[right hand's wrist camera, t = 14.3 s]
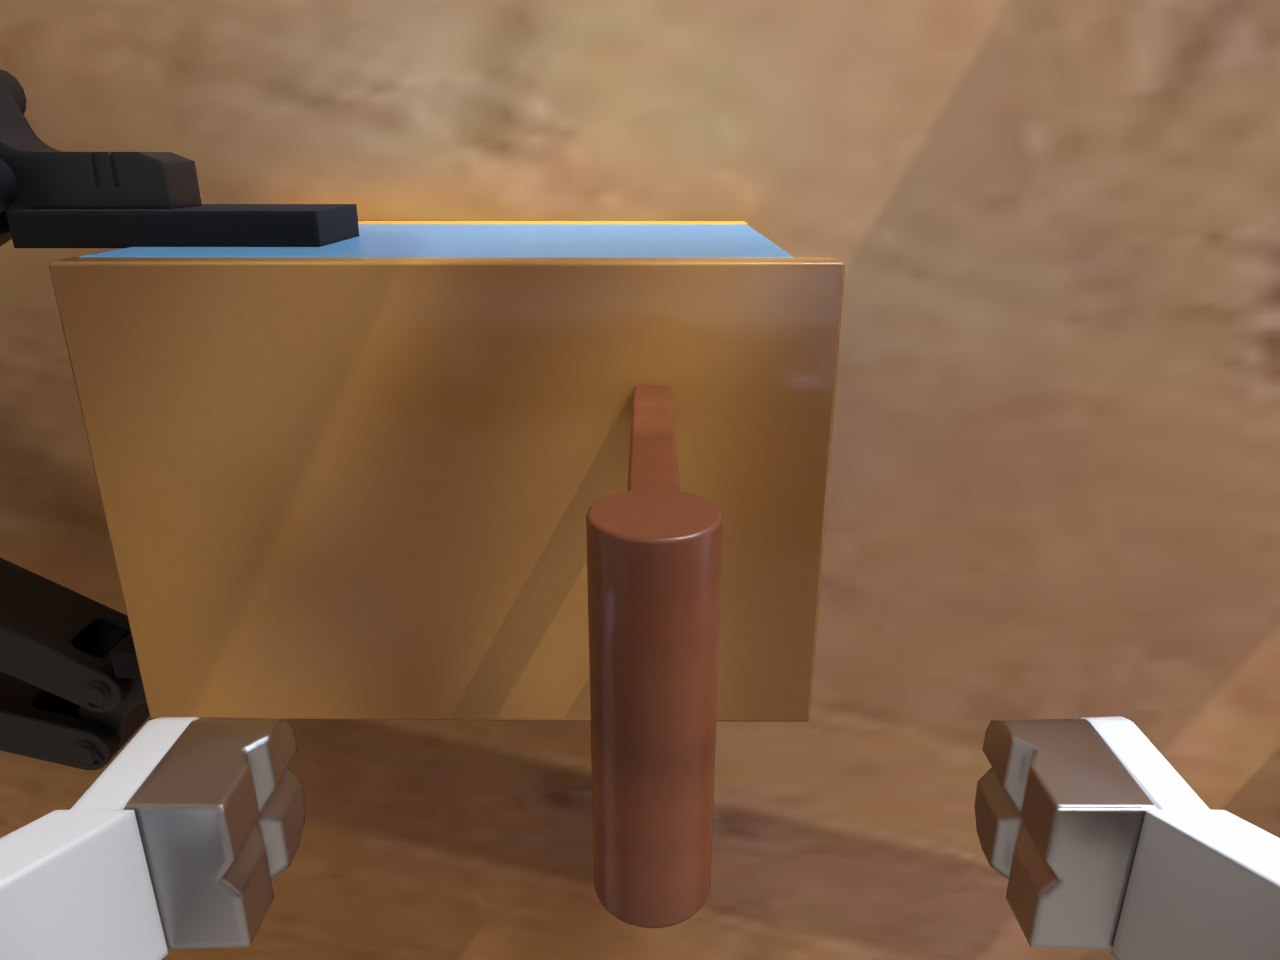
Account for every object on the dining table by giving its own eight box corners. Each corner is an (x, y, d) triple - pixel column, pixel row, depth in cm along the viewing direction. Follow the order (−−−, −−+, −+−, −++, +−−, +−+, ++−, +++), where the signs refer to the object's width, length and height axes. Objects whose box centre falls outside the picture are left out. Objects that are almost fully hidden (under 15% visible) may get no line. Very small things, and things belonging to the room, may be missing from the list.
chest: (744, 221, 26) (795, 256, 17) (732, 532, 29) (770, 700, 20) (274, 221, 26) (75, 256, 17) (316, 530, 29) (169, 697, 20)
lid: (837, 257, 17) (1002, 347, 9) (804, 700, 20) (903, 1048, 12) (74, 256, 17) (-425, 344, 9) (168, 698, 20) (-135, 1041, 12)
